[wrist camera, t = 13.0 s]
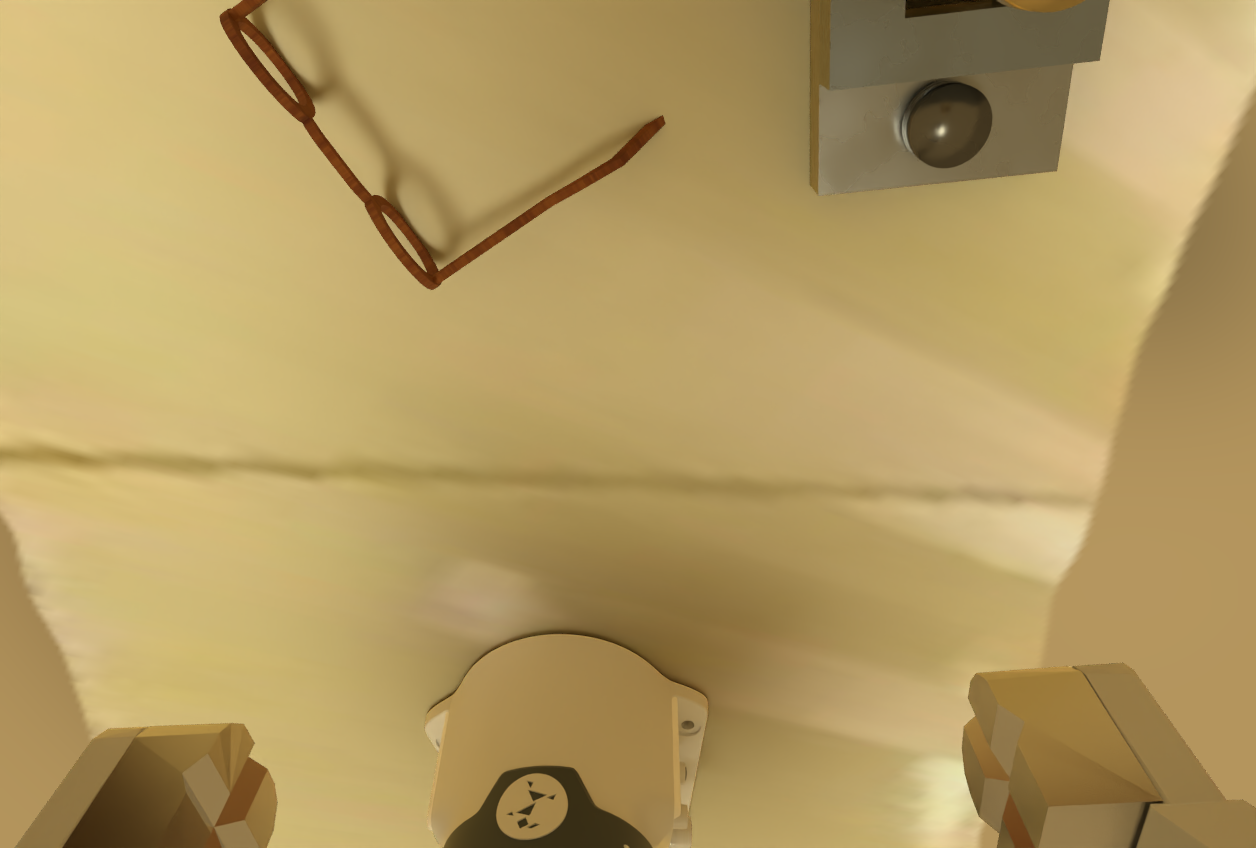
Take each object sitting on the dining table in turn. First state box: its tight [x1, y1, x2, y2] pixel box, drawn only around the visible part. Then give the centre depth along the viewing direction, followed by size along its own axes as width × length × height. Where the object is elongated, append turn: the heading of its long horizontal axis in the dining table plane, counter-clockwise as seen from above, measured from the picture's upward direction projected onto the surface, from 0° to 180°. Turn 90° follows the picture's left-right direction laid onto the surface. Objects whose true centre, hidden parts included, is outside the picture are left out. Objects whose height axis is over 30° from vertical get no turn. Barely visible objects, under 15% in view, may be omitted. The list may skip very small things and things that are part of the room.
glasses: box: [220, 0, 665, 290], centre depth 33 cm, size 13×13×5 cm
